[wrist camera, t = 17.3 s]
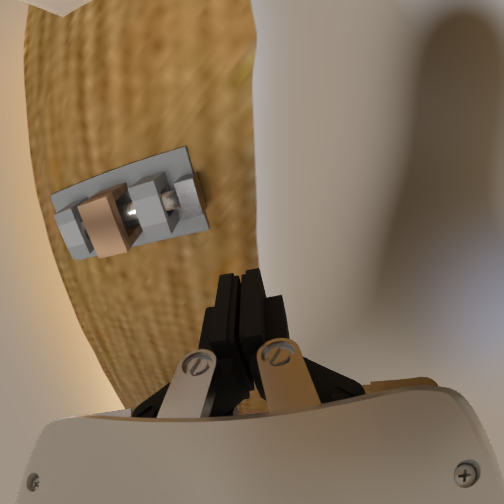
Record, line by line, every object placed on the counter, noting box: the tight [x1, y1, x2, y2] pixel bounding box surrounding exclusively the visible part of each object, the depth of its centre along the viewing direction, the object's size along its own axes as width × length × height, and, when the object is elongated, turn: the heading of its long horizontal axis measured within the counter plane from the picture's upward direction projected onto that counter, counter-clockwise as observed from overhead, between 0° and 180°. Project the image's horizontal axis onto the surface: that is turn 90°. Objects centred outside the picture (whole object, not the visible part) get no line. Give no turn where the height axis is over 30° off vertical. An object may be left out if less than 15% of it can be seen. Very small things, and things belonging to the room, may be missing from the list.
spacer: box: [78, 182, 143, 258], centre depth 31 cm, size 6×4×5 cm, turn 12°
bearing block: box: [50, 146, 209, 260], centre depth 31 cm, size 10×20×5 cm, turn 102°
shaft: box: [81, 173, 207, 233], centre depth 31 cm, size 4×15×3 cm, turn 102°
